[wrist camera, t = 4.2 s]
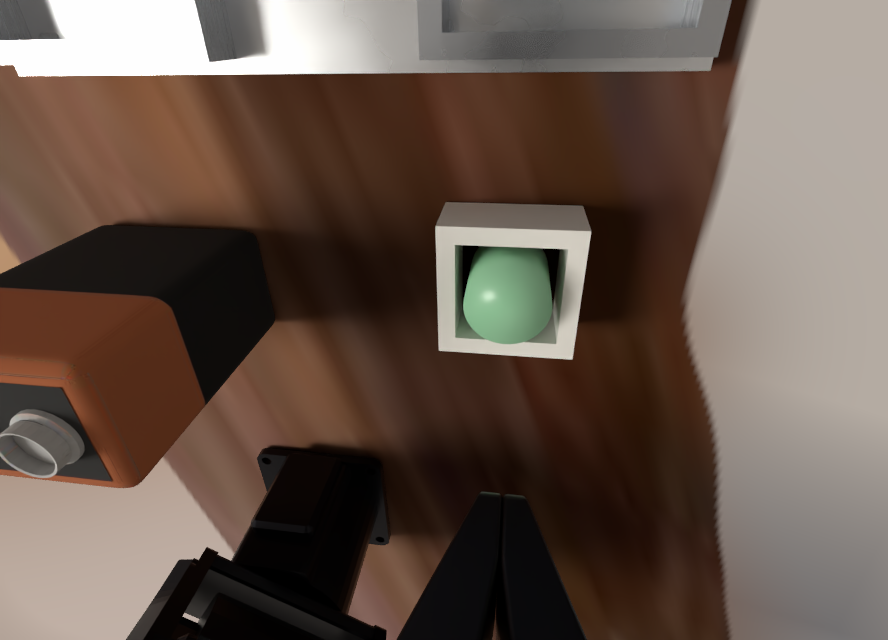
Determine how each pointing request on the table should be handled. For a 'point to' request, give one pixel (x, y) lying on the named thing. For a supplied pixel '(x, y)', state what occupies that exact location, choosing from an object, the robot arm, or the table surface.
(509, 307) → the button
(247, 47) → the grey metal tray
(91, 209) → the table surface
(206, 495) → the table surface
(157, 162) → the table surface
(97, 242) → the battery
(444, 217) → the button housing
